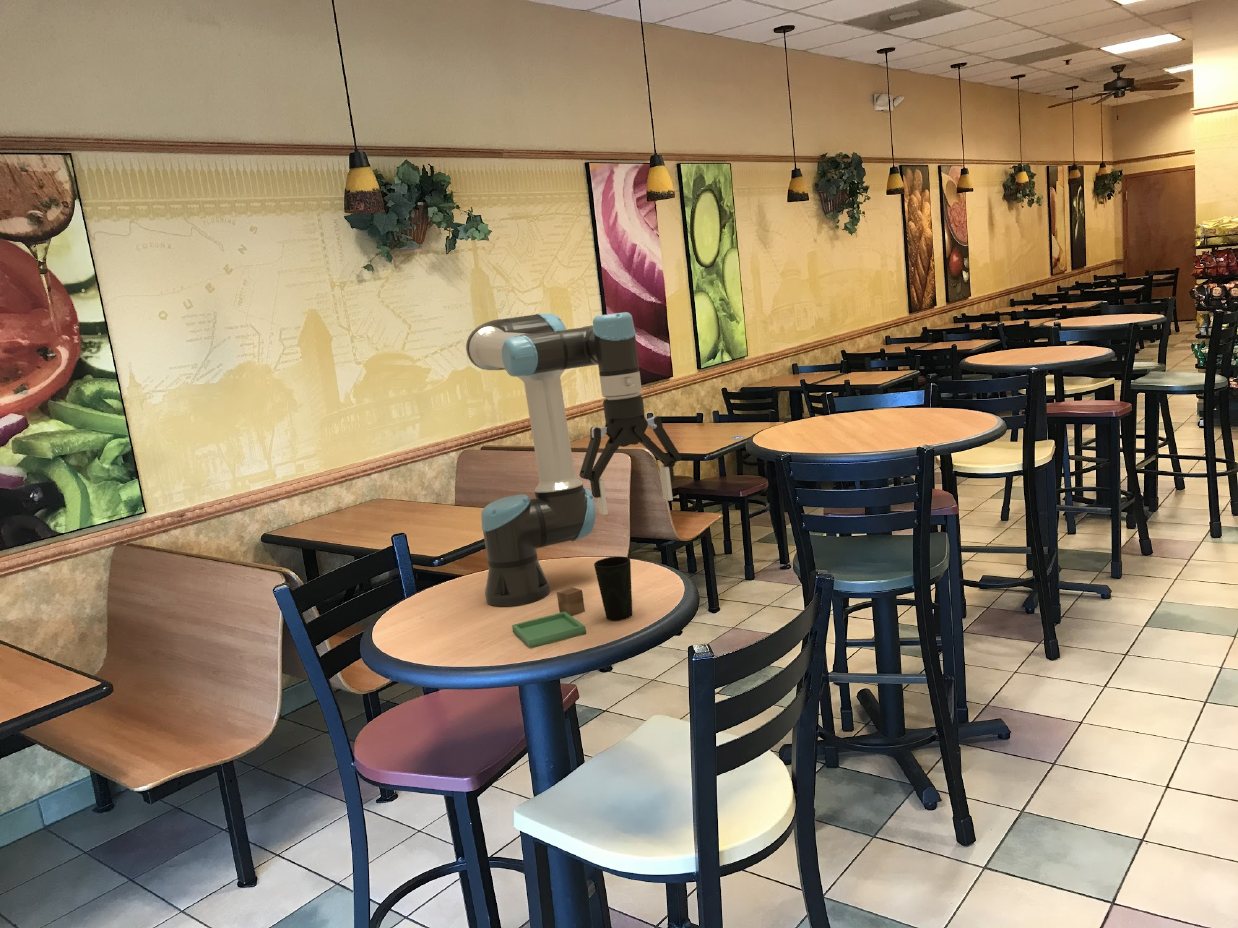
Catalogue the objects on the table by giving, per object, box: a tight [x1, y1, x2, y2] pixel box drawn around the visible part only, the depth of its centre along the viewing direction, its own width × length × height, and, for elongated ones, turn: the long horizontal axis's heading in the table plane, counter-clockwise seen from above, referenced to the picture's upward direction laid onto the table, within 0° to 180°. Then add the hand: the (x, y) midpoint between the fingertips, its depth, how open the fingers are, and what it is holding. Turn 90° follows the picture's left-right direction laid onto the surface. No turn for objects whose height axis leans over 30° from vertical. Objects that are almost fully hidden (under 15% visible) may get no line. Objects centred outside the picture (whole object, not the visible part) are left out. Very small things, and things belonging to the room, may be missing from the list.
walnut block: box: [556, 586, 586, 617], centre depth 204 cm, size 4×4×5 cm
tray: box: [511, 612, 587, 649], centre depth 193 cm, size 12×12×2 cm
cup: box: [593, 555, 633, 622], centre depth 197 cm, size 8×8×12 cm
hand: (636, 506), depth 179 cm, fingers open, 13 cm apart
